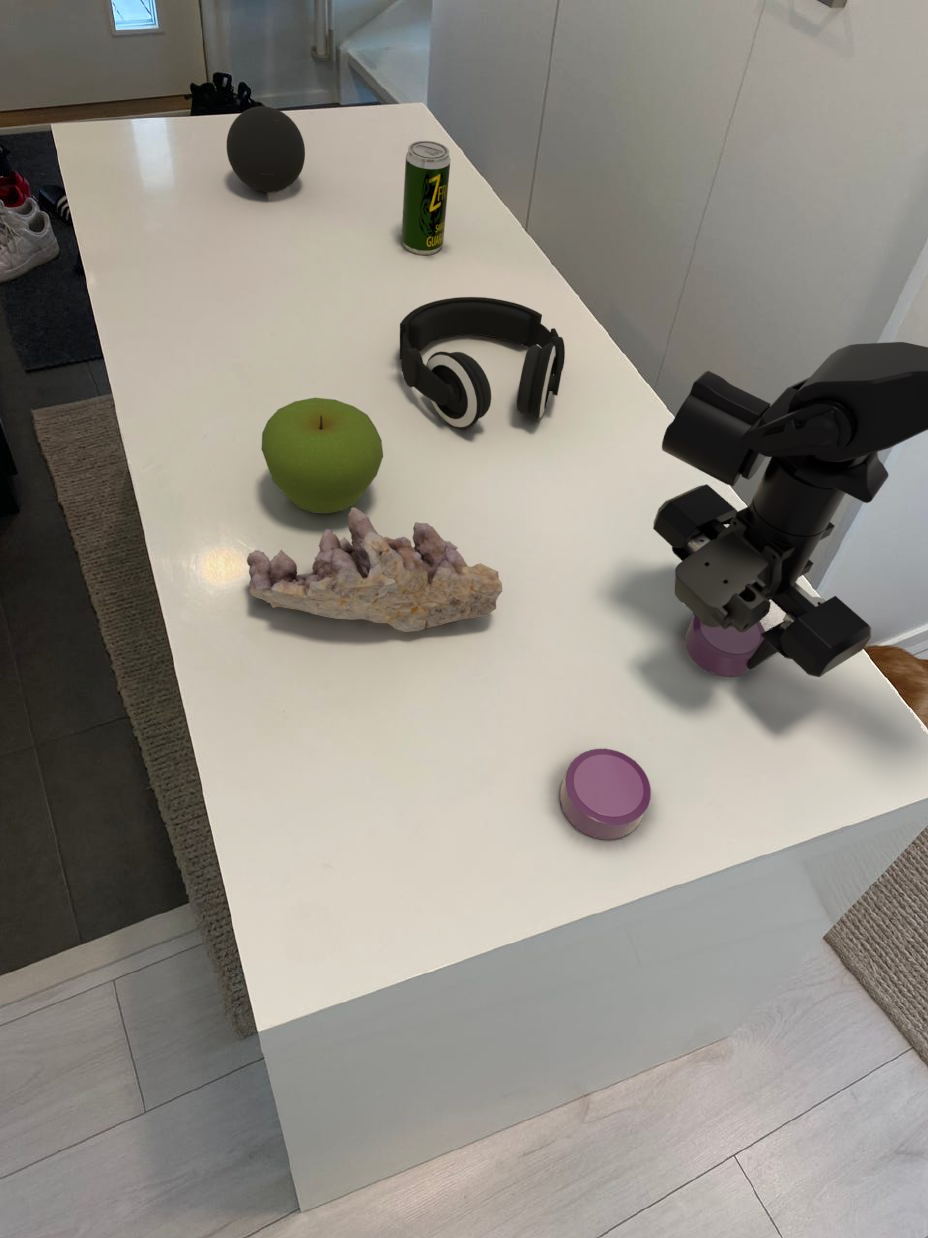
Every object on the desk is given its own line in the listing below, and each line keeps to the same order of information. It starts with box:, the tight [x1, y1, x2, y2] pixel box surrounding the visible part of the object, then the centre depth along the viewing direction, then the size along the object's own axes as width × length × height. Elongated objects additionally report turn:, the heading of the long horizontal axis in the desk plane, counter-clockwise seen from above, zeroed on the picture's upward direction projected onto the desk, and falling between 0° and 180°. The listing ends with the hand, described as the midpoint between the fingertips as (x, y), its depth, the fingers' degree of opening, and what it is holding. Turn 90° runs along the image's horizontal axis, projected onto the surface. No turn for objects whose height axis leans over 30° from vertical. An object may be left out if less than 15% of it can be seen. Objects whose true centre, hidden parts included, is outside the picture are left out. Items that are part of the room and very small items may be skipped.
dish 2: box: [684, 615, 766, 677], centre depth 81 cm, size 6×6×2 cm
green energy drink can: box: [401, 140, 451, 256], centre depth 116 cm, size 5×5×12 cm
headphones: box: [399, 296, 566, 430], centre depth 100 cm, size 18×8×20 cm
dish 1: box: [559, 748, 652, 841], centre depth 70 cm, size 6×6×2 cm
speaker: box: [226, 106, 306, 193], centre depth 122 cm, size 10×10×10 cm
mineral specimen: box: [246, 507, 503, 633], centre depth 78 cm, size 20×10×10 cm
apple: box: [261, 397, 384, 514], centre depth 85 cm, size 11×10×10 cm
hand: (724, 639), depth 81 cm, fingers closed on dish 2, 6 cm apart
